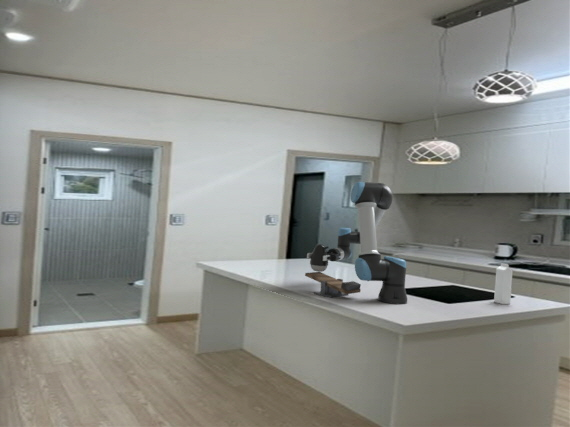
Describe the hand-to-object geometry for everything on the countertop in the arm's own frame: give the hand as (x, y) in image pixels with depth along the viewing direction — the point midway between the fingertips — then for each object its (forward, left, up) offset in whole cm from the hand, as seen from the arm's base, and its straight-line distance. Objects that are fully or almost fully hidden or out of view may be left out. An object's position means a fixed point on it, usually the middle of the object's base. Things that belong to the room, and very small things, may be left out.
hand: (315, 257), depth 263 cm
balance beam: (-9, -4, -14) cm, 17 cm away
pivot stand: (-9, -4, -20) cm, 22 cm away
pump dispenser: (+1, -4, -8) cm, 9 cm away
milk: (-73, -76, -20) cm, 108 cm away
